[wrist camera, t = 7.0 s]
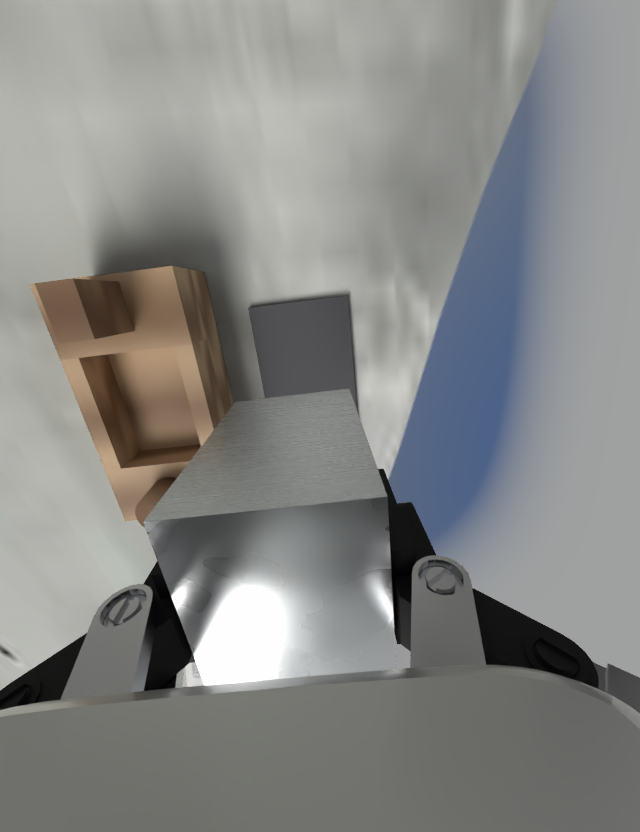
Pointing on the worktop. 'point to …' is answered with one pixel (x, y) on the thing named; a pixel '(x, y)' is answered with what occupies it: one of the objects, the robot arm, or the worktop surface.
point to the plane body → (140, 372)
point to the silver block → (280, 544)
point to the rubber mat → (304, 346)
